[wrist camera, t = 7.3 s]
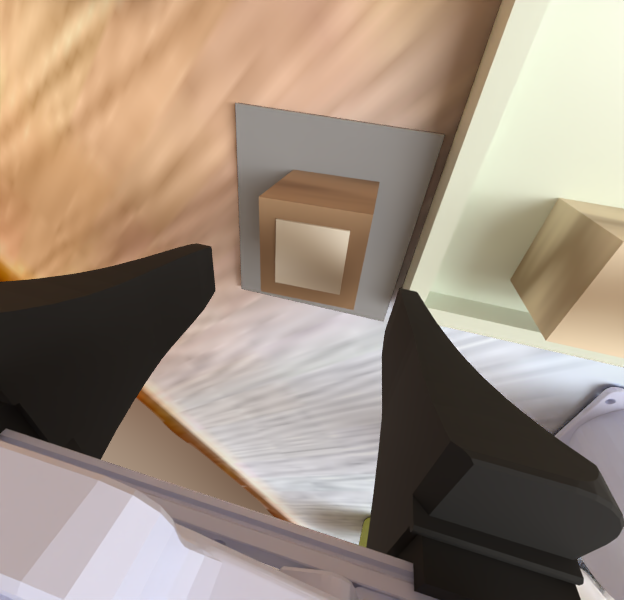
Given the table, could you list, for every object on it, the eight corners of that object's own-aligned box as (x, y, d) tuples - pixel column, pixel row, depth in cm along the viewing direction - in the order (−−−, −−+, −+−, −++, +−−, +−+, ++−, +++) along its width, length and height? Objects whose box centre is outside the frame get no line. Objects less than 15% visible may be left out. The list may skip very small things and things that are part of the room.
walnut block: (363, 260, 18) (353, 311, 14) (290, 247, 18) (259, 292, 14) (379, 181, 15) (373, 216, 11) (293, 169, 16) (257, 197, 12)
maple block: (599, 298, 16) (666, 367, 12) (510, 279, 17) (545, 340, 13) (667, 216, 13) (782, 270, 9) (558, 197, 14) (623, 241, 10)
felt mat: (383, 317, 20) (383, 321, 20) (243, 285, 22) (241, 288, 21) (443, 134, 14) (445, 135, 14) (238, 102, 15) (235, 103, 15)
